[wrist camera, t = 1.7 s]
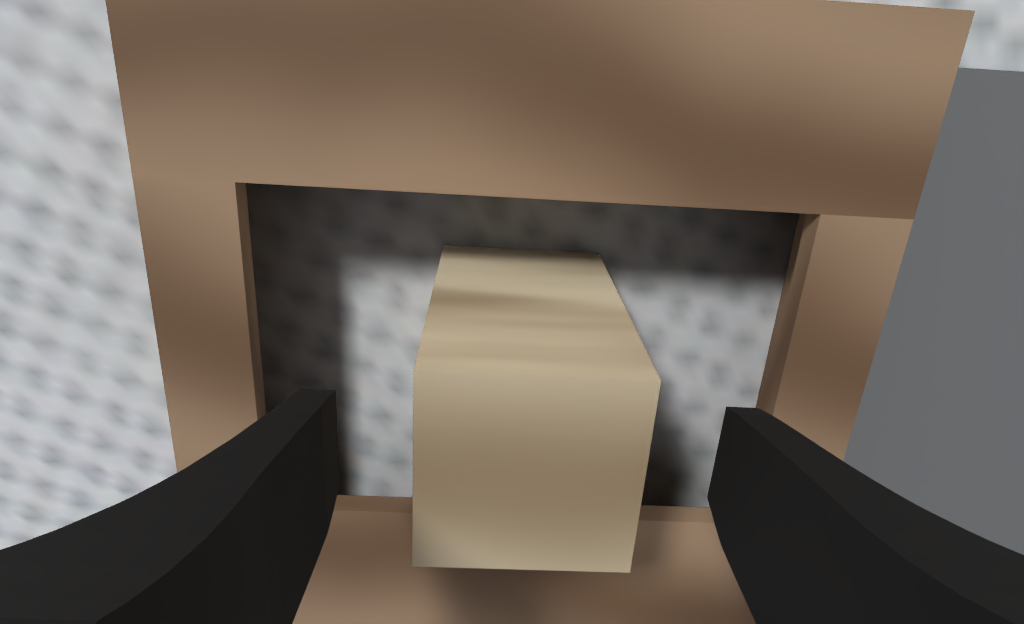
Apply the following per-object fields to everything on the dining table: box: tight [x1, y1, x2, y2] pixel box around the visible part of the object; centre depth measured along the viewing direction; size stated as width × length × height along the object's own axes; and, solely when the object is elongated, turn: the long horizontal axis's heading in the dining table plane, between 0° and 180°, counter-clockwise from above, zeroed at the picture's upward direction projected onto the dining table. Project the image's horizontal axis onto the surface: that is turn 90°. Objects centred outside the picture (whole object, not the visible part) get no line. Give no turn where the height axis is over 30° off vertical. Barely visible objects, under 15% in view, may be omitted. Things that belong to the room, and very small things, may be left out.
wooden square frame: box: [106, 0, 975, 624], centre depth 17 cm, size 16×16×3 cm
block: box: [412, 245, 661, 573], centre depth 15 cm, size 4×4×7 cm
